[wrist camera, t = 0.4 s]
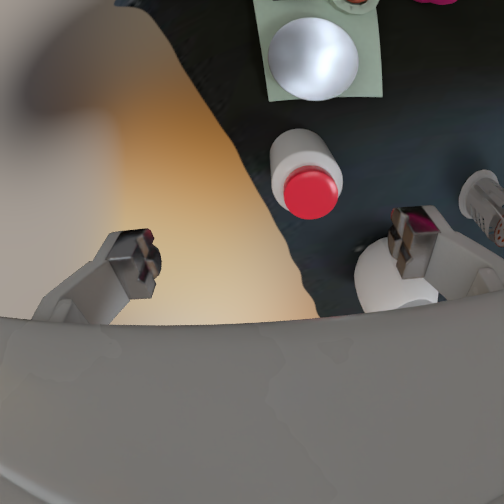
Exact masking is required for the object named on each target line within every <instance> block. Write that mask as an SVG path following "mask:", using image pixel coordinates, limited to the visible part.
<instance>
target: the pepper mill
mask: <svg viewBox="0 0 504 504" xmlns="http://www.w3.org/2000/svg"><path fill="white" fill-rule="evenodd" d="M415 1H417V2H421V3H428V2H431V3H434V4H439V5H445V4H451V3H453V2H455V1H457V0H415Z"/></svg>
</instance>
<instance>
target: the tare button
mask: <svg viewBox="0 0 504 504" xmlns="http://www.w3.org/2000/svg"><path fill="white" fill-rule="evenodd" d="M347 1H349V2H352V3H360V2H363V1H365V0H347Z"/></svg>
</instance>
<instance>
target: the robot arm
mask: <svg viewBox="0 0 504 504" xmlns="http://www.w3.org/2000/svg"><path fill="white" fill-rule="evenodd" d="M391 220H392V222H393V225H392V227H391V228H390V229H389V231H388V248H389V252H390V254H391V256H392V257H393V258H394V259H396V260H397V263H396V267H397V269H398V271H399V274H400V276H401V278H402V280H404V279H415V278H424V279H425V280H426V281H427V282H428V283H429V284H431V285H432V286H433V287H434V288H435V289H436V290H437V291H438V292H440V293H441V294H442V295H443V296H444V297H445V298H446V299H447V300H448V301H443V302H438V303H432V304H426V305H420V306H413V307H407V308H400V309H393V310H386V311H378V312H370V313H362V314H353V315H344V316H335V317H324V318H315V319H303V320H290V321H276V322H261V323H243V324H220V325H180V326H179V325H178V326H177V325H175V326H174V325H173V326H149V325H148V326H146V325H109V324H110V322H111V321H112V320H113V319H114V318H115V317H116V316H117V314H118V313H119V312H120V311H121V310H122V309H123V308H124V307H125V306H126V305H127V303H128V302H129V301H130V299H147V298H152V295H153V292H154V289H155V286H156V283H155V281H154V279H155V278H156V277H157V276H158V275H159V274H160V271H161V262H162V261H161V256H160V252H159V250H158V248H157V247H155V246H154V245H153V244H152V243H153V240H154V237H153V235H152V232H151V230H149V229H137V230H128V231H118V232H112V233H110V234H109V235H108V236H107V238H106V239H105V241H104V243H103V244H102V246H101V248H100V250H99V251H98V253H97V254H96V256H95V258H94V260H93V261H89V262H88V263H86V264H85V265H84V266H82V267H81V268H80V269H78V270H77V271H76V272H75V273H73V274H72V275H71V276H69V277H68V278H67V279H66V280H64V281H63V282H62V283H61V284H59V285H58V286H57V287H56V288H54V289H53V290H52V291H51V292H49V293H48V294H47V295H46V296H44V297H43V299H42V300H41V302H40V304H39V306H38V308H37V309H36V311H35V313H34V315H33V317H32V319H31V320H27V319H17V318H7V317H0V504H504V259H502V258H501V257H499V256H498V255H496V254H495V253H493V252H491V251H490V250H488V249H486V248H485V247H483V246H481V245H480V244H478V243H476V242H475V241H473V240H471V239H470V238H468V237H466V236H464V235H463V234H461V233H459V232H454V231H453V230H452V228H451V227H450V226H449V224H448V223H447V222H446V220H445V219H444V218H443V216H442V215H441V214H440V213H439V211H438V210H437V209H436V208H435V207H434V206H432V205H427V206H415V207H401V208H393V210H392V213H391Z"/></svg>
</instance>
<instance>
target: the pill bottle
mask: <svg viewBox="0 0 504 504" xmlns="http://www.w3.org/2000/svg"><path fill="white" fill-rule="evenodd" d="M270 172H271V185H272V191H273V194H274V196H275V199H276V200H277V201H278V203H279V204H280V205H281V206H282V207H283V208H285V209H286V210H288V211H290V212H291V213H292V214H294V215H295V216H297V217H300V218H303V219H317V218H320V217H322V216H324V215H326V214H328V213H329V212H330V211H331V210H332V209H333V208H334V206H335V204H336V202H337V199H338V197H339V195H340V193H341V190H342V185H343V177H342V173H341V170H340V168H339V166H338V164H337V163H336V161H335V159H334V157H333V156H332V154H331V152H330V151H329V149H328V147H327V146H326V144H325V142H324V141H323V139H322V138H321V137H320V136H319V135H317V134H316V133H314V132H312V131H310V130H306V129H292V130H289V131H286V132H284V133H283V134H281V135H280V136H279V137H278V138H276V140H275V141H274V143H273V144H272V147H271V149H270Z"/></svg>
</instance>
